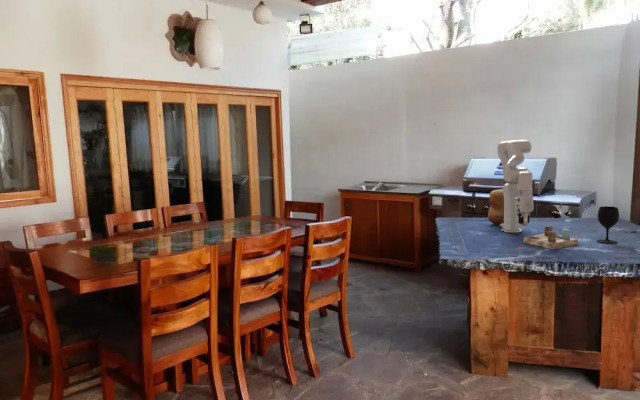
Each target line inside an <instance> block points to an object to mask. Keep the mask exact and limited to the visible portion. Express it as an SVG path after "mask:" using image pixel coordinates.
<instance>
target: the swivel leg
mask: <svg viewBox="0 0 640 400" xmlns="http://www.w3.org/2000/svg"><path fill="white" fill-rule="evenodd" d="M561 232H562V233H561V234H558V233H556V237H559V238H562V239H570V238H571V229H567V228H566V229H565V228H563V229H562V231H561Z"/></svg>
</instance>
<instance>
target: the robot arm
mask: <svg viewBox="0 0 640 400" xmlns="http://www.w3.org/2000/svg"><path fill="white" fill-rule="evenodd" d="M496 149H497V155H498V158H499V159H500V162H501V166H502V175H503V179H504V181H505V182H507V183H504V184H503V186H502V190H503V195H504V223H501V224H500V225H499V226H500V227H502V228H501V230H500V231H502V232H503V231H504V233H509V232H510V233H511V234H513V233H514V234H517V233H521V232H523V229H522V228H520V226H521V225H520V224H523V222H524V217H523V213H525V212H528V222H527V224H530V216H531V214H532V212H533V211H534V208H535V207H534V196H533V195H534V194H533V173H532V171H530V170H529V169H528V167H518V166H519V165H521V164H522V163H523V162H524V161H525V155H524V154H529V153H530V152H531V151H532V143H531V142H530V141H529V140H528V139H518V140H517V139H516V140H514V139H513V140H505V141H504V140H503V141H501V142H499V143H498V144H497V148H496ZM520 213H521V214H520Z"/></svg>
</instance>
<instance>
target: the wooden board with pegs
mask: <svg viewBox="0 0 640 400" xmlns="http://www.w3.org/2000/svg"><path fill="white" fill-rule="evenodd" d="M556 234H557V232H556V231H553V226H551V225H545V226H544V233H543V234H535V235H529V236H523V237H522V238H523V239H522V243H524V244H529V245H532V246H538V247H541V248H546V249H550V250H557V249H561V248H567V247H571V246H573V247H574V246H577V245H579V244H578V243H579V239H578V238H574V237H572V238H571V237H570V239H562V238H559V237H556Z"/></svg>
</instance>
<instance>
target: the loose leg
mask: <svg viewBox="0 0 640 400" xmlns="http://www.w3.org/2000/svg"><path fill="white" fill-rule="evenodd" d="M520 214H521V213H520ZM523 217H524V222H523V224H520V225H519V226H524V227H526V226H528V223H527V222H528V212H525V213H523Z"/></svg>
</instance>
